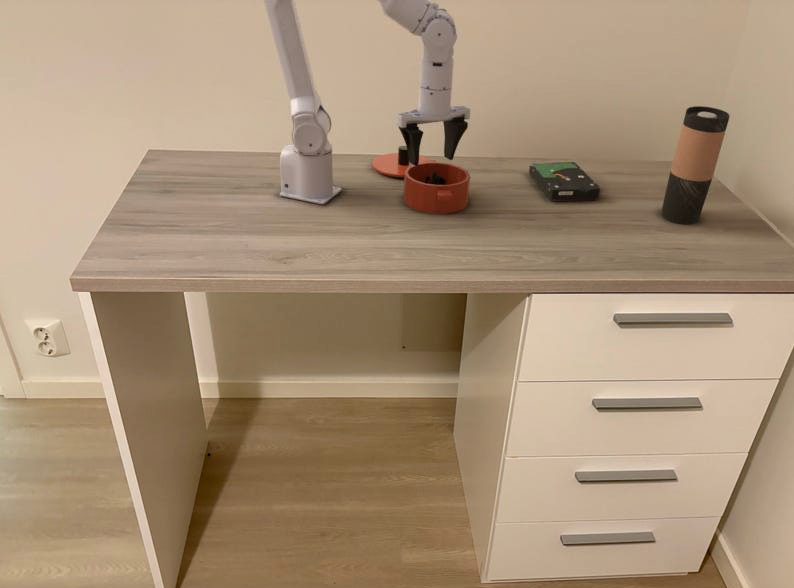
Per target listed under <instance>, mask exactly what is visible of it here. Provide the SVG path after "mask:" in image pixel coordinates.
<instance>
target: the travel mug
mask: <svg viewBox="0 0 794 588" xmlns="http://www.w3.org/2000/svg"><path fill="white" fill-rule="evenodd" d="M729 121H730V114H729V112H727V111H725V110H722V109H719V108H716V107H710V106H703V105H702V106H700V105H698V106H697V105H695V106H689V107H687V108H686V110H685V114H684V118H683V122H682V125H681V129H680V133H679V137H678V141H677V145H676V148H675V152H674V156H673V160H672V163H671V167H670V170H669V171H670V172H669V175H668V180H667V185H666V189H665V193H664V198H663V202H662V207H661V212H660V213H661V216H662V218H663V219H665V220H667V221H669V222H672V223H674V224H680V225H694V224H696V223H698V222H699V220H700V217H701V214H702V211H703V208H704V205H705V202H706V199H707V196H708V193H709V190H710V186H711V184H712V181H713V177H714V174H715V169H716V167H717V163H718V159H719V156H720V153H721V148H722V146H723V141H724V138H725V134H726V131H727V127H728V124H729Z"/></svg>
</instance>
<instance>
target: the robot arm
mask: <svg viewBox="0 0 794 588" xmlns="http://www.w3.org/2000/svg"><path fill="white" fill-rule="evenodd" d="M377 1H378V2H379V3H380V6H381V12H382V14H383V15H384V16H386V17H387V18H388V19H390V20H391V21H392V22H394V23H395V24H397V25H398V26H400V27H401V28H403V29H404V30H406V31H407V32H408V33H410V34H412V35H413V36H418V37H421V41H422V55H421V57H420V68H419V69H420V70H419V88H418V89H419V90H418V91H419V92H418V94H419V95H418V108H416V109H411V110H408V111H405V112H400V113H396V116H395V117H396V119H395V125H396V126H397V127H398V129H399V131H400V133H401V135H402V138H403V139H404V140H403V141H404V143H405V146H406V147H407V151H408V155H409V161H410V163H411V164H413V165H415V166H416V165H418V163H419V155H420V149H421V143H422V138H423V136H424V131H422V129H420V126H418V125H424V124H431V123H440V122H442V124H443V130H444V133H443V134H444V144H443V156H444V158H446V159H447V160H449V161H453V160H454V158H455V153H456V151H457V148H458V145H459V143H460V140H461V139H462V137H463V135H464V134H465V132H466V131H467V129H468V127H469V122H468V121H467V120H470V119H471V108H470V107H468V106H466V105H458V106H457V105H456V106H455V105H454V106H453V105H452V104H451V102H452V87H453V75H454V58H453V56H454V53H455V49H454V47H455V44H456V42H457V40H458V39H457V38H458V34H457V28H456V24H455V20H454V18H453V16H452V15H451V14H450V13H449V12H448V11H447V10H446V8H442V7H440V5H439V4H438V3H437V2H436V1H433V2H431V1H429V0H377ZM263 2H264V6H265V11H266V14H267V17H268V21H269V26H270V29H271V33H272V36H273V40H274V44H275V49H276V52H277V55H278V59H279V63H280V66H281V67H280V68H281V70H282V74H283V78H284V81H285V85H286V90H287V93H288V97H289V103H290V118H291V122H292V129H291V134H290V137H291V142H292V144H286V145H284V147H283V148H282V150H281V152H280V156H279V176H280V190H281V192H279V196H280V197H284V198H290V199H294V200H299V201H303V202H308V203H312V204H318V205H325V204H327V203H328V202H329V201H330V200H332V199H333V198H334V197H335V196H337V195H338V194H339V193H341V192H342V187H337V186H334V172H333V170H334V169H333V168H334V167H333V145H332V144H331V142H330V141H329V139H328V135H329V134H330V131H331V129H332V119H331V116H330V114H329V113H328V111H327V110H326V109H325V107H324V105H323V102H322V99H321V96H320V95H319V93H318V90H317V87H316V84H315V79H314V75H313V72H312V68H311V63H310V59H309V56H308V51H307V46H306V43H305V42H306V41H305V38H304V33H303V31H302V26H301V22H300V18H299V13H298V10H297V6H296V2H295V0H263ZM451 105H452V106H451Z"/></svg>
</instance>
